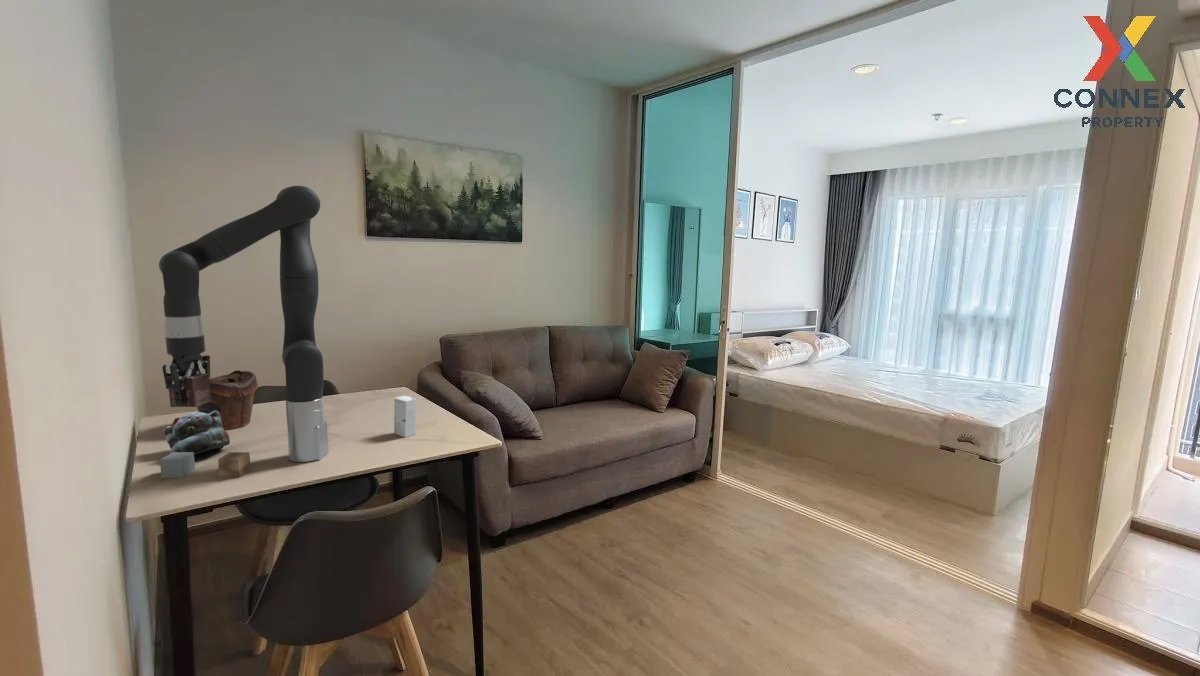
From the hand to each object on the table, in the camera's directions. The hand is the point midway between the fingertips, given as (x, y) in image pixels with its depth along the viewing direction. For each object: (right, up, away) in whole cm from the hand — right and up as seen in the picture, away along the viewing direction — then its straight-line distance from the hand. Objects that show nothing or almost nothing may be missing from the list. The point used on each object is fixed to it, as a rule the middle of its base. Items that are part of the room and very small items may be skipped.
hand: (190, 400), depth 134 cm
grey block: (-8, -20, +6) cm, 22 cm away
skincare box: (+38, -16, +42) cm, 59 cm away
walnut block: (+6, -20, +8) cm, 22 cm away
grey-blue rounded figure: (-13, -18, +20) cm, 30 cm away
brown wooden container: (-22, -14, +46) cm, 53 cm away
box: (0, -1, 0) cm, 1 cm away
